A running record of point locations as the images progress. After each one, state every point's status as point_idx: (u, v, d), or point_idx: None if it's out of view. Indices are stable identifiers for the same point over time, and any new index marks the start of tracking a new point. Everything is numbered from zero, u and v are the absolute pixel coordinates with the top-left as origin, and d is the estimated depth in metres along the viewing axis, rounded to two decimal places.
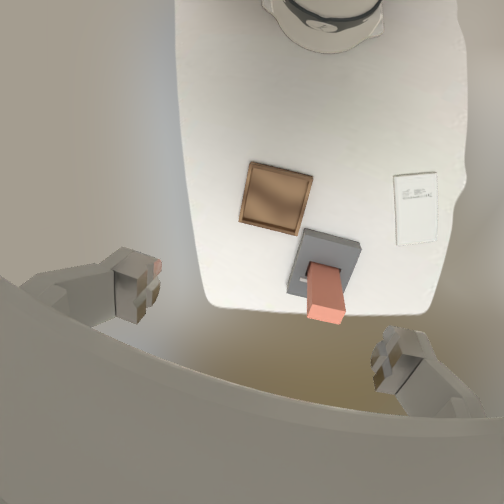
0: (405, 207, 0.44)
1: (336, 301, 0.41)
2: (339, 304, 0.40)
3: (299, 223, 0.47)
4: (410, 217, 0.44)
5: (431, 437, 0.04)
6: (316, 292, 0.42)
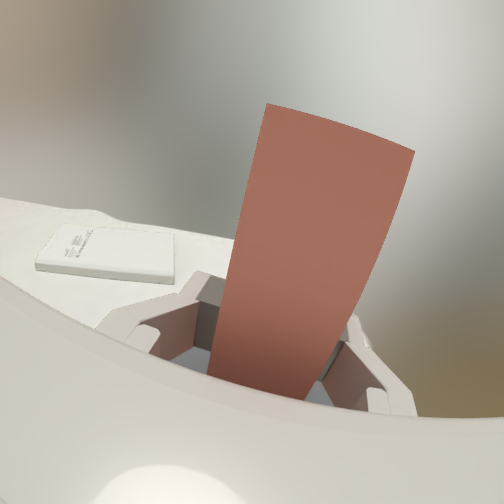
0: (94, 256, 0.22)
1: None
2: None
3: None
4: (116, 253, 0.24)
5: (431, 437, 0.04)
6: None
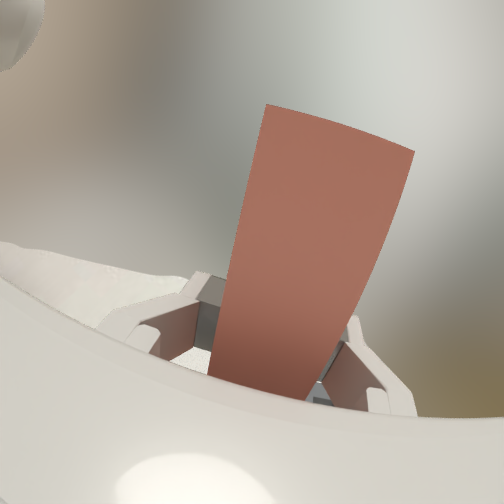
0: None
1: None
2: None
3: None
4: None
5: (431, 437, 0.04)
6: None
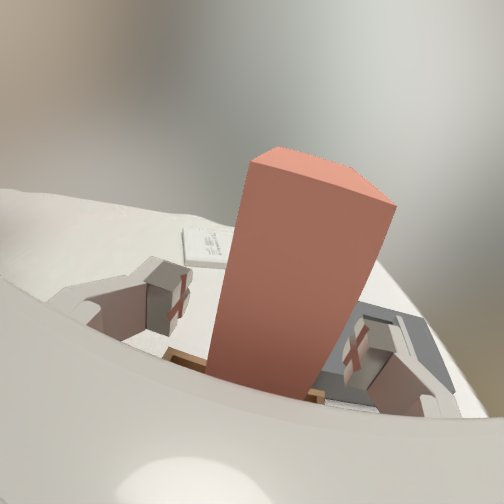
0: None
1: None
2: None
3: None
4: None
5: (431, 437, 0.04)
6: None
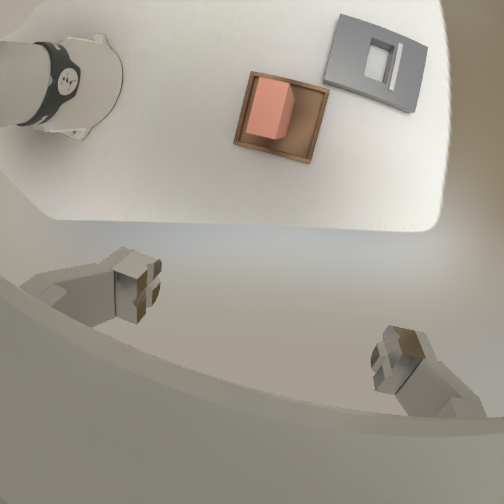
0: None
1: None
2: None
3: (311, 86, 0.31)
4: None
5: (431, 437, 0.04)
6: None
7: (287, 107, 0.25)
